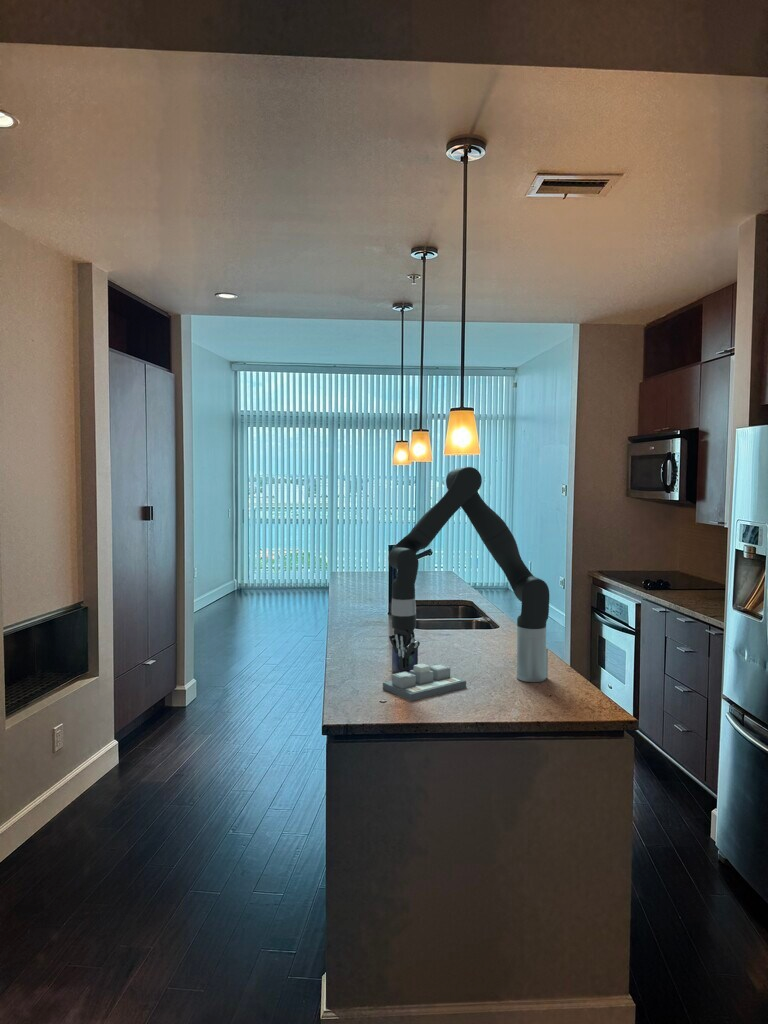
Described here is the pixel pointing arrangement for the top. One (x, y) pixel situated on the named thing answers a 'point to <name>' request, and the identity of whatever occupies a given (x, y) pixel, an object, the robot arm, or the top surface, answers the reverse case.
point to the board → (424, 684)
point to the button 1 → (403, 675)
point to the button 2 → (438, 667)
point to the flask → (396, 662)
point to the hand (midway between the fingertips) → (404, 668)
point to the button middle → (421, 668)
